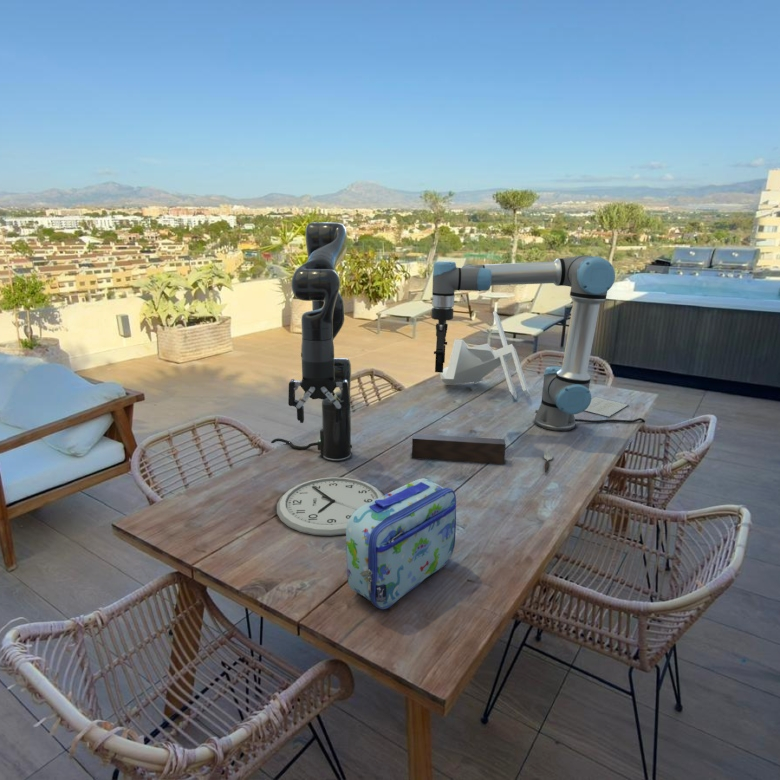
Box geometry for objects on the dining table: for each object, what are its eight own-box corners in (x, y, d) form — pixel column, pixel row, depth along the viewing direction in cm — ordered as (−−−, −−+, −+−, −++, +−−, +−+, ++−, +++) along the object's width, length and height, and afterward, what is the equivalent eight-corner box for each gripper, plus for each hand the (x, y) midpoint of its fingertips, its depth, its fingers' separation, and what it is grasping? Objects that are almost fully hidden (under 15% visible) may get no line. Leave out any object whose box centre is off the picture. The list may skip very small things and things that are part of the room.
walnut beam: (502, 458, 174) (504, 439, 172) (503, 464, 170) (505, 444, 167) (412, 452, 177) (413, 433, 175) (411, 458, 173) (412, 438, 171)
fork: (540, 473, 163) (541, 467, 163) (544, 453, 178) (545, 448, 177) (549, 474, 162) (550, 468, 162) (552, 454, 177) (553, 449, 176)
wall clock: (392, 527, 129) (268, 531, 127) (391, 533, 130) (269, 537, 127) (383, 473, 158) (282, 475, 155) (383, 478, 158) (282, 480, 156)
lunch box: (375, 622, 100) (376, 527, 94) (339, 595, 108) (338, 505, 101) (459, 565, 118) (465, 481, 112) (424, 545, 125) (427, 465, 119)
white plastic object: (461, 429, 252) (437, 405, 227) (444, 352, 274) (420, 323, 250) (535, 404, 240) (518, 377, 215) (510, 326, 262) (492, 293, 237)
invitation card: (608, 416, 214) (573, 407, 224) (608, 416, 214) (573, 408, 224) (628, 404, 229) (594, 396, 238) (628, 405, 229) (594, 397, 238)
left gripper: (349, 353, 125) (349, 416, 130) (289, 352, 124) (292, 416, 129) (348, 361, 118) (348, 427, 123) (284, 360, 117) (287, 427, 122)
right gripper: (433, 302, 192) (431, 358, 198) (429, 312, 168) (426, 376, 175) (454, 302, 191) (451, 359, 197) (452, 313, 167) (449, 377, 174)
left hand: (319, 421), depth 126 cm, fingers open, 8 cm apart
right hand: (439, 367), depth 186 cm, fingers open, 13 cm apart
